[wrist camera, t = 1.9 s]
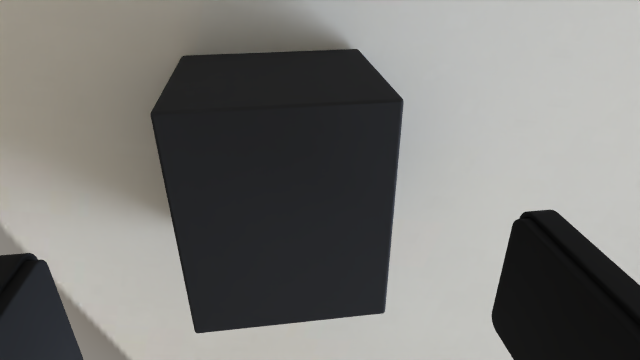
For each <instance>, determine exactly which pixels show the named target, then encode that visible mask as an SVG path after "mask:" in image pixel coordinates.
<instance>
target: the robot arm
mask: <svg viewBox="0 0 640 360" xmlns="http://www.w3.org/2000/svg"><path fill="white" fill-rule="evenodd" d="M492 322H493V325H494V328H495V330H496V332H497V333H498V335H499V337H500V338H501V340H502V341H503V343H504V345H505V346H506V348H507V350H508V351H509V353H510V354H511V356H512V358H513V359H514V360H640V285H639V284H637V283H636V282H635V281H634V280H633V279H632V278H631V277H630V276H628V275H627V274H626V273H625V272H624V271H623V270H622V269H620V268H619V267H618V266H617V265H616V264H615V263H614V262H613V261H611V260H610V259H609V258H608V257H607V256H606V255H605V254H604V253H602V252H601V251H600V250H599V249H598V248H597V247H596V246H595V245H593V244H592V243H591V242H590V241H589V240H588V239H587V238H586V237H584V236H583V235H582V234H581V233H580V232H579V231H578V230H577V229H575V228H574V227H573V226H572V225H571V224H570V223H569V222H568V221H566V220H565V219H564V218H563V217H562V216H561V215H560V214H559V213H557V212H556V211H554V210H541V211H529V212H524V213H523V214H522V215H521V216H520V219H517V220H515V222H514V223H513V226H512V230H511V234H510V238H509V242H508V247H507V251H506V255H505V259H504V264H503V268H502V272H501V276H500V281H499V285H498V289H497V293H496V298H495V302H494V306H493V310H492ZM0 360H83V357H82V354H81V352H80V349H79V346H78V344H77V341H76V338H75V336H74V333H73V330H72V328H71V325H70V322H69V320H68V317H67V315H66V312H65V309H64V307H63V304H62V301H61V299H60V296H59V293H58V291H57V288H56V286H55V283H54V280H53V278H52V275H51V272H50V270H49V267H48V265H47V263H46V262H45V261H44V260H38V259H37V257H36V256H35V255H34V254H31V253H24V254H13V255H1V256H0Z"/></svg>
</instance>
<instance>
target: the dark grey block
mask: <svg viewBox="0 0 640 360" xmlns="http://www.w3.org/2000/svg"><path fill="white" fill-rule="evenodd" d="M402 112H403V99H402V98H401V97H400V96H399V94H398V93H397V92H396V91H395V90H394V89H393V88H392V87H391V86H390V84H389V83H388V82H387V81H386V80H385V79H384V78H383V77H382V76H381V75H380V73H379V72H378V71H377V70H376V69H375V68H374V67H373V66H372V65H371V63H370V62H369V61H368V60H367V59H366V58H365V57H364V56H363V55H362V53H361V52H360V51H359V50H357V49H349V50H323V51H297V52H271V53H245V54H219V55H193V56H183V57H182V58H181V59H180V61H179V63H178V65H177V67H176V68H175V70H174V72H173V74H172V76H171V77H170V79H169V81H168V83H167V85H166V86H165V88H164V90H163V92H162V93H161V95H160V97H159V99H158V101H157V102H156V104H155V106H154V108H153V110H152V111H151V120H152V125H153V130H154V135H155V139H156V144H157V149H158V154H159V159H160V164H161V169H162V174H163V178H164V183H165V188H166V193H167V198H168V203H169V208H170V212H171V217H172V222H173V227H174V232H175V237H176V242H177V247H178V251H179V256H180V261H181V266H182V271H183V276H184V281H185V286H186V290H187V295H188V300H189V305H190V310H191V315H192V320H193V324H194V329H195V332H196V333H204V332H214V331H223V330H232V329H241V328H251V327H260V326H269V325H278V324H288V323H297V322H306V321H316V320H325V319H334V318H343V317H353V316H362V315H371V314H381V313H384V312H385V304H386V293H387V281H388V270H389V259H390V248H391V236H392V225H393V214H394V203H395V191H396V180H397V169H398V158H399V146H400V135H401V124H402Z"/></svg>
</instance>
